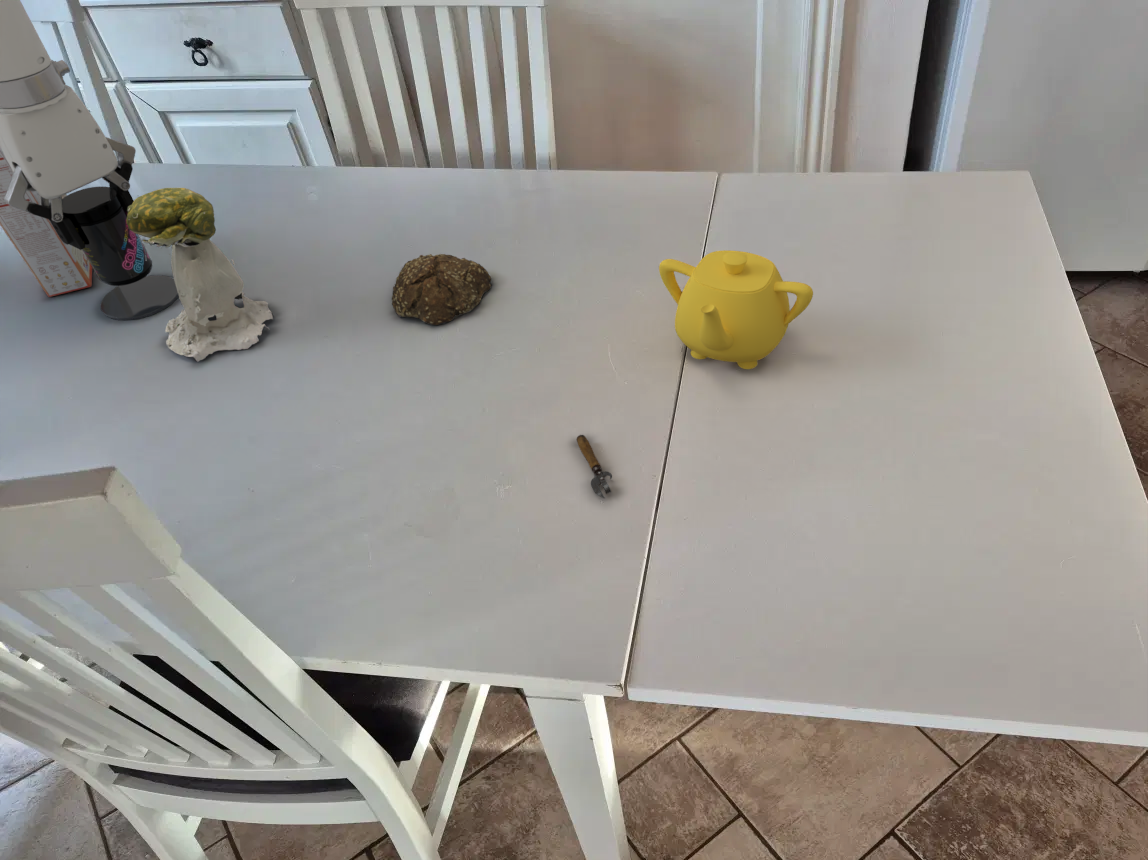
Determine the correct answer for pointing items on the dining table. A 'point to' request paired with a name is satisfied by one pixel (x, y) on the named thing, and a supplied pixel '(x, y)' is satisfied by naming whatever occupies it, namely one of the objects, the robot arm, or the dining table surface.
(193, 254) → the frog
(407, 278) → the bread roll
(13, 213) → the cracker box
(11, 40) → the robot arm
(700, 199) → the dining table surface
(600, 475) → the can opener
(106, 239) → the supplement container
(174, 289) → the coaster
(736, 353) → the teapot
